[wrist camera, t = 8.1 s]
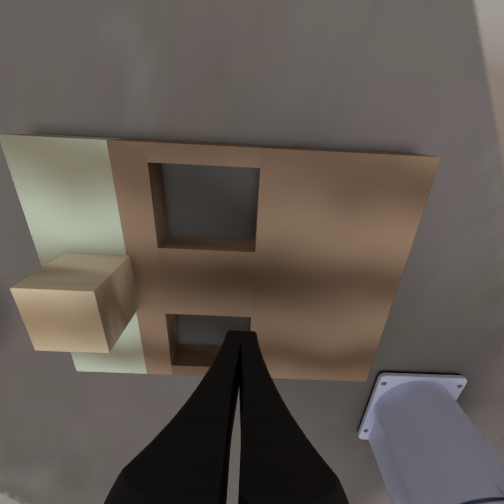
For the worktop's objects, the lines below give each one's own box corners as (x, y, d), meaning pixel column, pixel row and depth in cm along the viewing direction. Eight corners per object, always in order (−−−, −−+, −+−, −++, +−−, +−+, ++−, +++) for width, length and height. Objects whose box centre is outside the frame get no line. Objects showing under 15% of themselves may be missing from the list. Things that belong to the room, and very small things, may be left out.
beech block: (138, 307, 18) (109, 353, 14) (79, 305, 18) (35, 350, 14) (129, 255, 16) (93, 291, 12) (64, 252, 16) (9, 287, 12)
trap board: (354, 357, 23) (365, 381, 21) (94, 347, 23) (76, 371, 20) (414, 153, 16) (441, 157, 14) (35, 134, 15) (-3, 134, 13)
